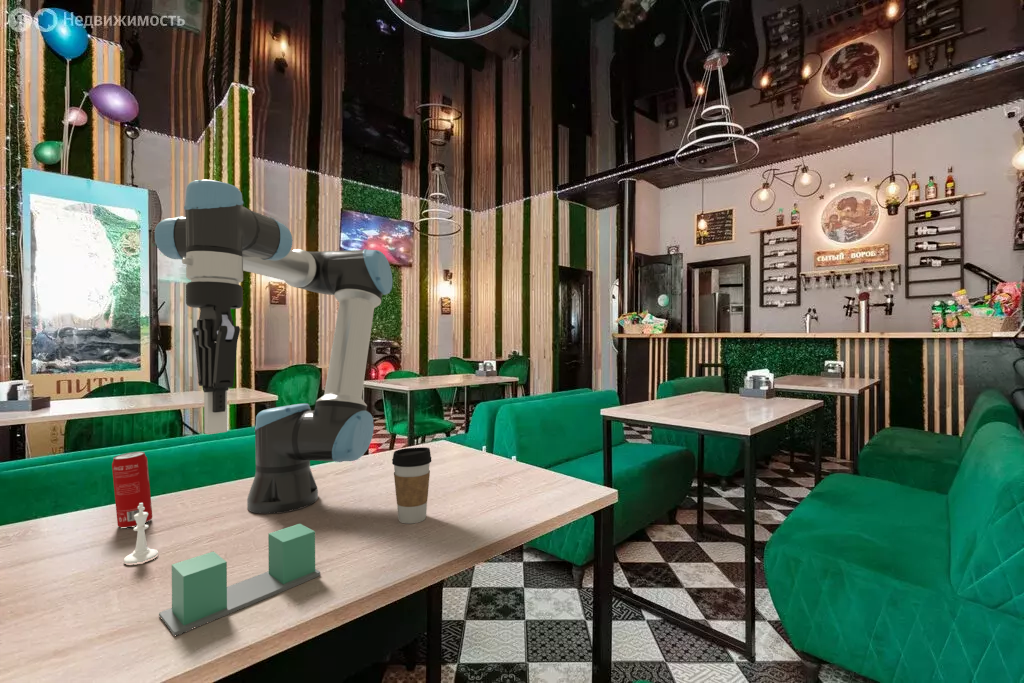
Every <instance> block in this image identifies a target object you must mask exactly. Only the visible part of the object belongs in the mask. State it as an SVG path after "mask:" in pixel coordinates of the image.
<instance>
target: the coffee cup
mask: <svg viewBox="0 0 1024 683" xmlns="http://www.w3.org/2000/svg"><path fill="white" fill-rule="evenodd" d="M391 461H392V465H393V467H394V472H393V476H394V477H393V478H394V479H393V480H394V487H395V499H396V506H397V507H396V508H397V519H398V521H399V522H400V523H402V524H409V525H410V524H411V525H412V524H417V523H421V522H423V521H425V519H427V509H428V508H427V507H428V497H429V487H430V477H431V476H430V474H431V471H430V464H431V463H432V455H431V450H430V447H426V446H425V447H421V446H420V447H409V448H408V447H407V448H406V447H405V448H400V449H396V450H395V451H394V452H393V455H392V459H391Z"/></svg>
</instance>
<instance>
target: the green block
mask: <svg viewBox="0 0 1024 683" xmlns="http://www.w3.org/2000/svg"><path fill="white" fill-rule="evenodd" d="M227 563H228V561H226V559H224V558H223V557H221V556H220V555H219V554H218V553H216V552H215V551H210V552H207V553H204V554H200V555H198V556H195V557H191V558H188V559H185V560H182V561H178V562H176V563H173V564H171V608H172V612H173V613H174V614H175V616H176V617H177V618H178V619H179V620H180V622H181V623H182V624H183V625H186V624H189V623H191V622H194V621H196V620H199V619H201V618H204V617H206V616H208V615H211V614H213V613H216V612H218V611H221V610H223V609H226V608H227V587H228V583H227V582H228V576H227V575H228V574H227V573H228V568H227V567H228V564H227Z"/></svg>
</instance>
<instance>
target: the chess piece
mask: <svg viewBox="0 0 1024 683" xmlns="http://www.w3.org/2000/svg"><path fill="white" fill-rule="evenodd" d="M138 509H139V513H137V514H135V515H134V519H135V520H136V523H137V525H138V526H136V527H133V531H134V532H137V534H136V542H135V549H134V550H133V551H132V552H131V553H130V554H128V555H126V556H125V557H124V558H123V562H125V563H137V562H143V561H145V560H148V559H151V558H153V557H155V556H156V555H157V554H159V551H158V549H156V548H154V549H153V548H150V547H148V543H147V536H146V531H145V530H147V529H148V528H149V524H145V522H146V519H147V516H148V513H147V512H143V510H145V507H143V503H139V506H138Z"/></svg>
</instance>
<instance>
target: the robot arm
mask: <svg viewBox="0 0 1024 683" xmlns="http://www.w3.org/2000/svg"><path fill="white" fill-rule="evenodd" d="M185 190H186V191H185V202H184V205H183V206H184V207H183V208H184V215H185V216H177V217H172V218H170V217H169V218H164V219H162V220H161V221H160V222H158V223H157V225H156V226H155V229H154V241H155V242H154V243H155V245H156V248H157V249H158V250H159V251H160V253H161V254H163V256H165V257H167V258H169V259H171V260H181V263H182V265H186V268H185V269H186V270H185V278H187V279H188V280H190V282H187V283H186V284H185V304H186V305H187V306H188V307H190V308H195V309H197V308H198V309H199V310H200V311H199V318H198V319H197V321H196V327H193V328H192V332H191V333H192V334H193V339H194V345H195V347H194V348H195V357H196V358H195V359H196V367H197V368H196V369H197V378H198V380H197V383H198V386H199V387H202V388H201V389H202V390H203V395H204V396H203V398H204V399H203V401H204V402H203V406H204V408H203V409H204V410H203V413H204V415H203V417H204V420H203V422H204V423H203V425H204V427H203V428H204V429H203V431H204V432H203V433H204V434H205V435H213V434H219V433H227V432H228V391H229V389H230V388H233V387H234V381H235V370H236V358H237V347H238V340H239V335H240V332H241V329H240V326H239V325H235V324H234V323H235V321H234V320H233V315H232V310H234V309H235V310H237V309H241V308H242V307H243V305H244V298H243V297H244V293H243V292H244V290H243V289H244V287H242V285H240V283H242V282H243V281H244V272H248V273H253V274H256V275H261V276H264V277H268V278H272V279H277V280H281V281H284V282H285V283H286V284H287V285H288V286H291V287H293V288H297V289H302V290H304V291H309V292H313V293H316V294H322V295H329V296H333V297H334V298H335V299H336V301H338V303H339V304H338V309H337V315H336V316H337V317H336V320H335V321H336V322H335V327H334V333H333V340H332V346H331V351H330V356H329V358H330V359H329V365H328V370H327V375H326V376H327V377H326V382H325V387H324V394H323V395H322V396H321V397H319V398H317V400H316V401H315V405H314V410H311V407H310V404H309V403H297V404H296V403H295V404H291V405H290V404H287V405H283V406H277V407H272V408H267V409H263V410H261V411H259V412H258V413H257V415H256V416H255V428H254V433H255V434H254V436H255V440H254V442H255V443H254V444H255V474H254V479H253V481H252V484H251V486H250V490H249V493H248V495H247V501H246V502H247V503H246V506H247V508H246V509H247V510H248V511H249V512H251V513H255V514H260V515H261V514H263V515H269V514H271V515H272V514H273V515H274V514H281V513H288V512H292V511H296V510H301V509H304V508H307V507H309V506H310V505H313V504H314V503H315V502H317V501H318V499H319V495H318V494H319V490H318V489H319V488H318V486H317V483H316V480H315V478H314V475H313V473H312V470H311V461H319V462H322V461H323V462H336V463H342V462H354V461H357V460H359V459H360V458H362V457H363V456H364V454H365V453H366V452H367V451H368V449H369V448H370V445H371V442H372V439H373V436H374V431H375V430H374V428H375V427H374V426H375V425H374V417H373V415H372V414H371V412H369V411H368V410H367V407H368V405H367V403H365V401H364V399H363V391H364V390H363V389H364V384H365V377H366V375H365V374H366V369H367V363H368V362H367V361H368V354H369V348H370V342H371V341H370V340H371V333H372V332H371V331H372V326H373V320H374V319H373V318H374V312H375V311H374V310H375V308H377V307H379V306H380V305H381V304H382V298H383V295H384V296H386V295H388V294H390V293H391V291H392V289H393V273H392V268H391V265H390V263H389V261H388V258H387V257H386V255H385V253H383V252H382V251H380V250H378V249H376V250H375V249H366V248H364V249H359V250H358V249H357V250H327V251H326V250H323V251H307V250H304V249H299V248H297V249H293V250H292V247H293V236H292V233H291V230H290V229H289V227H287V226H286V224H284V223H282V222H280V221H278V220H276V219H275V218H273V217H272V216H271V217H270V216H267V215H264V214H263V213H262V214H261V213H259V212H256V211H254V210H250V209H248V208H247V207H245V206H244V200H243V194H242V192H241V190H240V189H239V188H238V187H237V186H236V185H233V184H230V183H228V182H223V181H218V180H212V179H198V180H192V181H190V182H189V183H188V184H187V186H186V189H185Z"/></svg>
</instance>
